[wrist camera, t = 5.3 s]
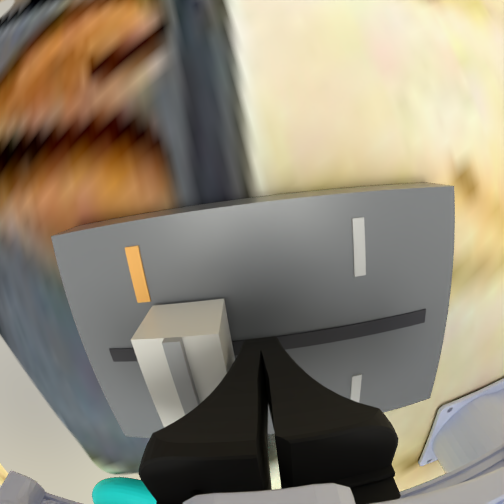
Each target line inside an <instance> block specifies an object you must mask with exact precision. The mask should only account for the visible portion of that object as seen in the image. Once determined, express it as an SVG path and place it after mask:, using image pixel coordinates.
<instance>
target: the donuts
mask: <svg viewBox="0 0 504 504" xmlns="http://www.w3.org/2000/svg"><path fill="white" fill-rule="evenodd" d="M92 497H93V502H94V504H156V503H157V501H156V500H155V498H154V497H153V496H152V494H151V493H150V492H149V490H148V489H147V487H146V486H145V485H144V483H143V482H142V480H137V479H132V478H124V477H114V478H108V479H104V480H102V481H100V482H99V483H98V484H96V486H95V487H94V489H93V492H92Z"/></svg>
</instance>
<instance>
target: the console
mask: <svg viewBox="0 0 504 504" xmlns="http://www.w3.org/2000/svg"><path fill="white" fill-rule="evenodd" d="M454 225H455V205H454V186H449V185H442V184H434V183H407V184H390V185H375V186H362V187H349V188H337V189H326V190H316V191H306V192H296V193H287V194H278V195H269V196H261V197H252V198H244V199H237V200H229V201H222V202H215V203H207V204H201V205H194V206H187V207H181V208H174V209H168V210H162V211H156V212H150V213H144V214H138V215H132V216H127V217H121V218H116V219H110V220H105V221H100V222H95V223H89V224H84V225H79V226H76V227H73V228H71V229H68V230H66V231H63V232H61V233H58V234H56V235H53V236H51V238H52V242H53V247H54V251H55V255H56V259H57V263H58V267H59V271H60V275H61V279H62V282H63V286H64V289H65V293H66V296H67V299H68V302H69V306H70V309H71V312H72V315H73V318H74V321H75V324H76V327H77V329H78V332H79V335H80V338H81V340H82V343H83V346H84V348H85V351H86V353H87V356H88V358H89V361H90V363H91V366H92V368H93V370H94V373H95V375H96V377H97V380H98V382H99V384H100V386H101V388H102V391H103V393H104V395H105V397H106V399H107V401H108V403H109V405H110V407H111V409H112V411H113V413H114V415H115V417H116V419H117V421H118V423H119V425H120V427H121V429H122V430H123V432H124V434H125V436H128V437H142V438H151V435H152V433H154V432H156V431H158V430H160V429H162V428H164V426H163V424H162V421H161V419H160V417H159V414H158V412H157V410H156V407H155V405H154V402H153V400H152V397H151V395H150V392H149V390H148V387H147V385H146V382H145V379H144V377H143V374H142V371H141V368H140V366H139V363H138V360H137V357H136V354H135V351H134V348H133V345H132V342H131V338H132V337H133V335H134V334H135V332H136V331H137V329H138V327H139V326H140V324H141V323H142V321H143V320H144V318H145V316H146V315H147V313H148V312H149V310H150V309H151V307H152V306H154V305H165V304H176V303H186V302H196V301H206V300H215V299H224V300H225V306H226V312H227V318H228V323H229V329H230V335H231V340H232V346H233V351H234V356H235V359H236V357H237V356H238V354H239V352H240V349H241V347H242V345H243V342H244V341H245V340H246V339H255V338H264V337H272V336H275V337H277V338H278V340H279V342H280V343H281V345H282V346H283V348H284V349H285V351H286V352H287V353H288V354H289V356H290V357H291V358H292V359H293V360H294V361H295V362H296V363H297V364H298V365H299V366H300V367H301V368H302V369H303V370H304V371H305V372H306V373H307V374H308V375H310V376H311V377H312V378H313V379H315V380H316V381H317V382H319V383H320V384H322V385H323V386H325V387H326V388H328V389H330V390H332V391H333V392H335V393H337V394H339V395H341V396H343V397H346V398H348V399H351V400H353V401H356V402H359V403H362V404H365V405H369V406H373V407H376V408H379V409H380V410H381V411H382V412H387V411H391V410H394V409H398V408H401V407H404V406H407V405H411V404H414V403H417V402H420V401H423V400H426V399H429V398H430V396H431V392H432V388H433V384H434V380H435V376H436V372H437V368H438V363H439V359H440V354H441V349H442V344H443V338H444V333H445V327H446V320H447V314H448V306H449V298H450V290H451V280H452V268H453V253H454ZM268 434H275V432H274V428H273V423H272V419H271V414H270V410H269V405H268Z"/></svg>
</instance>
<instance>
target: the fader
mask: <svg viewBox="0 0 504 504" xmlns="http://www.w3.org/2000/svg"><path fill="white" fill-rule="evenodd" d="M131 342H132V345H133V348H134V351H135V354H136V357H137V360H138V363H139V366H140V368H141V371H142V374H143V377H144V379H145V382H146V385H147V387H148V390H149V392H150V395H151V397H152V400H153V402H154V405H155V407H156V410H157V412H158V414H159V417H160V419H161V421H162V424H163V426H164V427H166V426H168V425H170V424H172V423H173V422H175V421H177V420H178V419H180V418H182V417H183V416H185V415H186V414H187V413H189V412H190V411H192V410H193V409H194V408H196V407H197V406H198V405H199V404H200V403H201V402H202V401H204V400H205V399H206V398H207V397H208V396H209V395H210V394H211V393H212V391H213V390H214V389H215V388H216V387H217V386H218V385H219V383H220V382H221V381H222V379H223V378H224V377H225V375H226V374H227V372H228V371H229V369H230V368H231V366H232V364H233V363H234V361H235V356H234V351H233V346H232V340H231V335H230V329H229V323H228V318H227V312H226V306H225V300H224V299H215V300H206V301H196V302H186V303H176V304H165V305H154V306H152V307H151V309H150V310H149V312H148V313H147V315H146V316H145V318H144V320H143V321H142V323H141V324H140V326H139V327H138V329H137V331H136V332H135V334H134V335H133V337H132V338H131Z"/></svg>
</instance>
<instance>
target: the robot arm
mask: <svg viewBox="0 0 504 504" xmlns="http://www.w3.org/2000/svg"><path fill="white" fill-rule="evenodd" d="M268 405H269V410H270V414H271V419H272V423H273V428H274V432H275V440H276V448H277V456H278V463H279V471H280V479H281V488H282V489H275V490H272V489H271V478H270V468H269V457H268ZM397 445H398V437H397V434H396V432H395V430H394V428H393V426H392V424H391V423H390V422H389V420H388V419H387V417H386V416H385V415H384V414H383V412H382V411H381V410H380V409H379V408H376V407H373V406H369V405H365V404H362V403H359V402H356V401H353V400H351V399H348V398H346V397H343V396H341V395H339V394H337V393H335V392H333V391H332V390H330V389H328V388H326V387H325V386H323V385H322V384H320V383H319V382H317V381H316V380H315V379H313V378H312V377H311V376H310V375H308V374H307V373H306V372H305V371H304V370H303V369H302V368H301V367H300V366H299V365H298V364H297V363H296V362H295V361H294V360H293V359H292V358H291V357H290V356H289V354H288V353H287V352H286V351H285V349H284V348H283V346H282V345H281V343H280V342H279V340H278V338H277V337H275V336H272V337H264V338H255V339H246V340H245V341H244V342H243V345H242V347H241V349H240V352H239V354H238V356H237V357H236V359H235V361H234V363H233V364H232V366H231V368H230V369H229V371H228V372H227V374H226V375H225V377H224V378H223V379H222V381H221V382H220V383H219V385H218V386H217V387H216V388H215V389H214V390H213V391H212V393H211V394H210V395H209V396H208V397H207V398H206V399H205V400H204V401H202V402H201V403H200V404H199V405H198V406H197V407H196V408H194V409H193V410H192V411H190V412H189V413H187V414H186V415H185V416H183V417H182V418H180V419H178V420H177V421H175V422H173V423H172V424H170V425H168V426H166V427H164V428H162V429H160V430H158V431H156V432H154V433H152V435H151V438H150V440H149V442H148V443H147V446H146V448H145V451H144V454H143V457H142V460H141V464H140V467H139V475H140V478H141V480H142V482H143V483H144V485H145V486H146V487H147V489H148V490H149V492H150V493H151V494H152V496H153V497H154V498H155V500H156V501H157V503H156V504H504V378H503V379H501V380H499V381H497V382H495V383H493V384H491V385H489V386H487V387H485V388H482V389H480V390H478V391H476V392H474V393H472V394H469V395H467V396H465V397H462V398H460V399H458V400H455V401H453V402H450V403H448V404H445V405H443V406H441V407H440V408H439V410H438V412H437V415H436V418H435V421H434V424H433V427H432V429H431V432H430V435H429V437H428V440H427V443H426V445H425V448H424V450H423V453H422V455H421V457H420V460H419V462H418V463H419V465H420V466H423V465H426V464H428V463H431V462H433V461H436V460H438V461H439V462H440V464H441V466H442V468H443V470H444V471H445V473H446V474H444V475H442V476H440V477H437V478H435V479H433V480H430V481H428V482H425V483H423V484H420V485H418V486H415V487H412V488H410V489H407V490H404V491H401V492H399V490H398V488H397V485H396V483H395V480H394V478H393V477H394V476H395V471H394V469H393V467H392V461H393V458H394V455H395V452H396V448H397ZM0 504H82V503H78V502H75V501H71V500H68V499H64V498H61V497H58V496H55V495H52V494H49V493H46V492H45V491H44V489H43V488H42V487H41V486H40V485H39V484H38V483H37V482H36V481H34V480H33V479H31V478H29V477H27V476H24V475H22V474H19V473H16V472H14V471H10V473H9V474H8V476H7V478H6V479H5V481H4V483H3V484H2V486H1V488H0Z"/></svg>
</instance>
